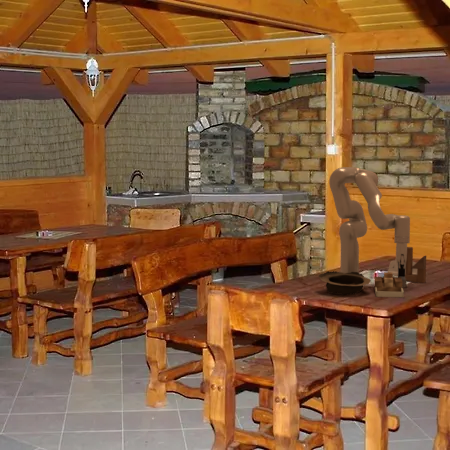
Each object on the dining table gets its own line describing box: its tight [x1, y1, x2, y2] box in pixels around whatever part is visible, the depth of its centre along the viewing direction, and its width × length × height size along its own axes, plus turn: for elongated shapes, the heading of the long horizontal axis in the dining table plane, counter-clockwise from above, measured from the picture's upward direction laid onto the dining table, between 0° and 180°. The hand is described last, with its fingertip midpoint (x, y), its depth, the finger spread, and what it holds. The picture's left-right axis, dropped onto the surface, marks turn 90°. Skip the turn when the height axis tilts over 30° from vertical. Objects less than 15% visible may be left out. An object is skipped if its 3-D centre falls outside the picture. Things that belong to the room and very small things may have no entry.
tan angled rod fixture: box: [405, 246, 427, 284], centre depth 434 cm, size 4×11×18 cm, turn 55°
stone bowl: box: [318, 270, 372, 296], centre depth 406 cm, size 25×25×9 cm
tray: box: [374, 287, 405, 298], centre depth 399 cm, size 13×12×2 cm
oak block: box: [383, 271, 394, 278], centre depth 411 cm, size 4×4×6 cm
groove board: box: [374, 276, 403, 292], centre depth 411 cm, size 13×13×6 cm
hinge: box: [387, 259, 417, 277], centre depth 454 cm, size 17×5×10 cm, turn 61°
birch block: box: [384, 278, 393, 287], centre depth 407 cm, size 4×4×4 cm
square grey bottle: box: [397, 261, 407, 288], centre depth 420 cm, size 5×4×14 cm
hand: (401, 275), depth 420 cm, fingers open, 3 cm apart
